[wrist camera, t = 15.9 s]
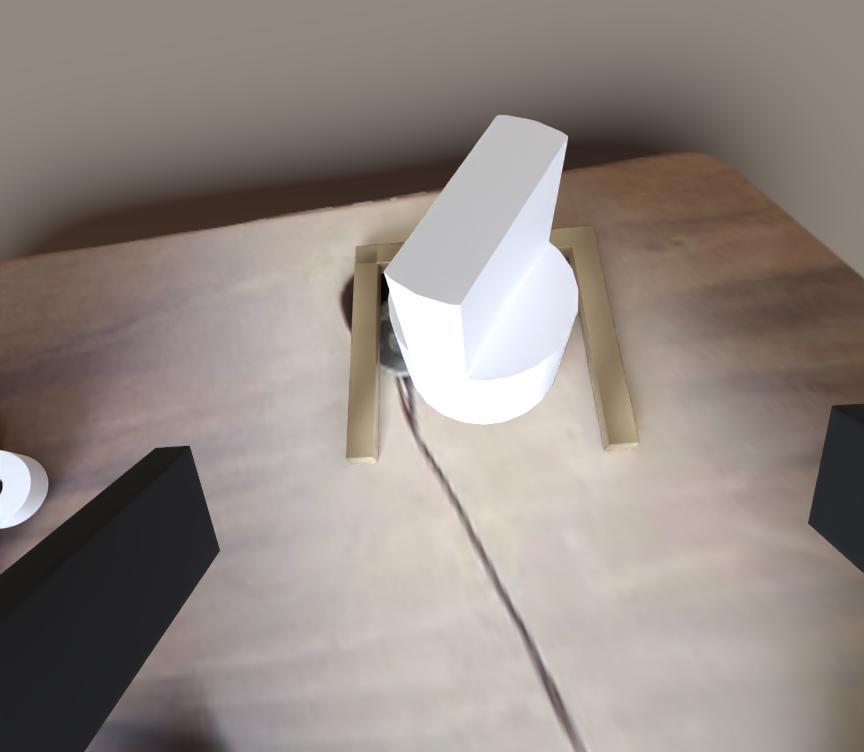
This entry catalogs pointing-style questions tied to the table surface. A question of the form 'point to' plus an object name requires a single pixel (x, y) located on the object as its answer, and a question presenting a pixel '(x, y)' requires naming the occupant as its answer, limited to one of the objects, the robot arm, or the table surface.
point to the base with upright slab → (487, 280)
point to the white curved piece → (20, 488)
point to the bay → (595, 329)
